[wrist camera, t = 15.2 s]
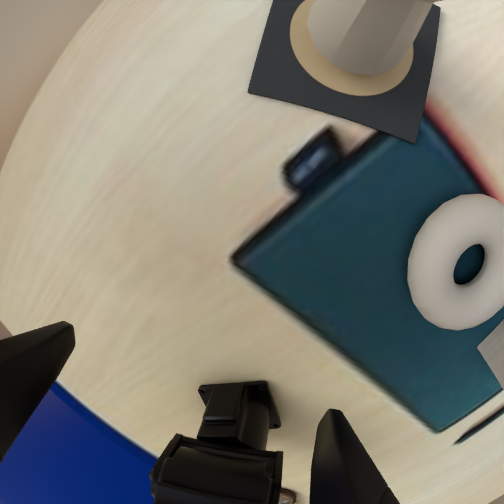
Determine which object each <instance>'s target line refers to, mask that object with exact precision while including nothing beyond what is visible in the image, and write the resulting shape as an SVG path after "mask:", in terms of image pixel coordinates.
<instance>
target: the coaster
mask: <svg viewBox="0 0 504 504" xmlns="http://www.w3.org/2000/svg"><path fill="white" fill-rule="evenodd" d="M314 2H315V0H273V3H272V6H271V9H270V13H269V16H268V20H267V23H266V26H265V30H264V33H263V37H262V40H261V44H260V47H259V51H258V55H257V58H256V62H255V66H254V69H253V73H252V77H251V80H250V84H249V88H248V93H250V94H255V95H260V96H264V97H269V98H273V99H277V100H281V101H285V102H289V103H293V104H297V105H301V106H304V107H308V108H312V109H315V110H319V111H322V112H325V113H329V114H332V115H335V116H338V117H341V118H345V119H348V120H351V121H354V122H357V123H360V124H362V125H365V126H368V127H371V128H374V129H376V130H379V131H382V132H384V133H387V134H390V135H392V136H395V137H397V138H400V139H402V140H405V141H407V142H410V143H412V144H415V142H416V139H417V135H418V131H419V127H420V123H421V119H422V115H423V110H424V106H425V102H426V97H427V92H428V87H429V82H430V77H431V72H432V66H433V61H434V55H435V48H436V42H437V34H438V27H439V18H440V9H441V8H440V7H438V6H436V5H434V4H433V5H432V7H431V9H430V11H429V13H428V15H427V16H426V18H425V20H424V22H423V24H422V26H421V28H420V30H419V32H418V34H417V36H416V38H415V40H414V42H413V44H412V45H411V47H410V49H409V51H408V53H407V55H406V56H405V57H404V58H403V59H402V60H401V62H400V63H399V64H398V65H397V66H396V68H394V69H391V70H388V71H386V72H383V73H380V74H377V75H374V76H370V75H361V74H351V73H349V72H347V71H345V70H343V69H340V68H338V67H336V66H334V65H332V64H330V63H329V62H328V61H327V60H326V59H325V58H324V56H323V55H322V54H321V53H320V52H319V51H318V50H317V49H316V48H315V46H314V44H313V41H312V38H311V35H310V33H309V30H308V27H307V21H308V17H309V13H310V9H311V6H312V5H313V3H314Z"/></svg>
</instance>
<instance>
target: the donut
mask: <svg viewBox="0 0 504 504" xmlns="http://www.w3.org/2000/svg"><path fill="white" fill-rule="evenodd" d="M474 244H481V245H482V246H483V248H484V250H485V258H484V263H483V266H482V268H481V270H480V272H479V273H478V275H477V276H476V277H475V278H474V279H473V280H472V281H470V282H468V283H466V284H463V285H459V284H456V283H455V282H454V278H453V272H454V268H455V265H456V262H457V260H458V259H459V257H460V256H461V254H462V253H463V252H464V251H465V250H466V249H467V248H468V247H470V246H472V245H474ZM407 282H408V285H409V289H410V292H411V296H412V300H413V303H414V304H415V306H416V307H417V309H418V310H419V311H420V313H421V314H422V315H423V317H424V318H425V319H426V320H428V321H430V322H431V323H433V324H435V325H436V326H438V327H440V328H445V329H452V330H462V329H467V328H472V327H475V326H477V325H479V324H481V323H482V322H484V321H486V320H488V319H490V318H491V317H492V316H493V315H494V314H495V313H497V312H498V311H499V310H500V309H501V308H502V307H503V306H504V205H503V204H502V203H501V202H500V201H499V200H496V199H494V198H491V197H489V196H486V195H484V194H467V195H460V196H458V197H456V198H453V199H451V200H449V201H447V202H445V203H443V204H442V205H441V206H440V207H439V208H438V209H437V210H436V211H434V212H433V213H432V214H431V215H430V216H429V217H428V218H427V219H426V221H425V223H424V224H423V226H422V227H421V229H420V231H419V232H418V234H417V235H416V237H415V240H414V243H413V246H412V249H411V252H410V255H409V259H408V276H407Z"/></svg>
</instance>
